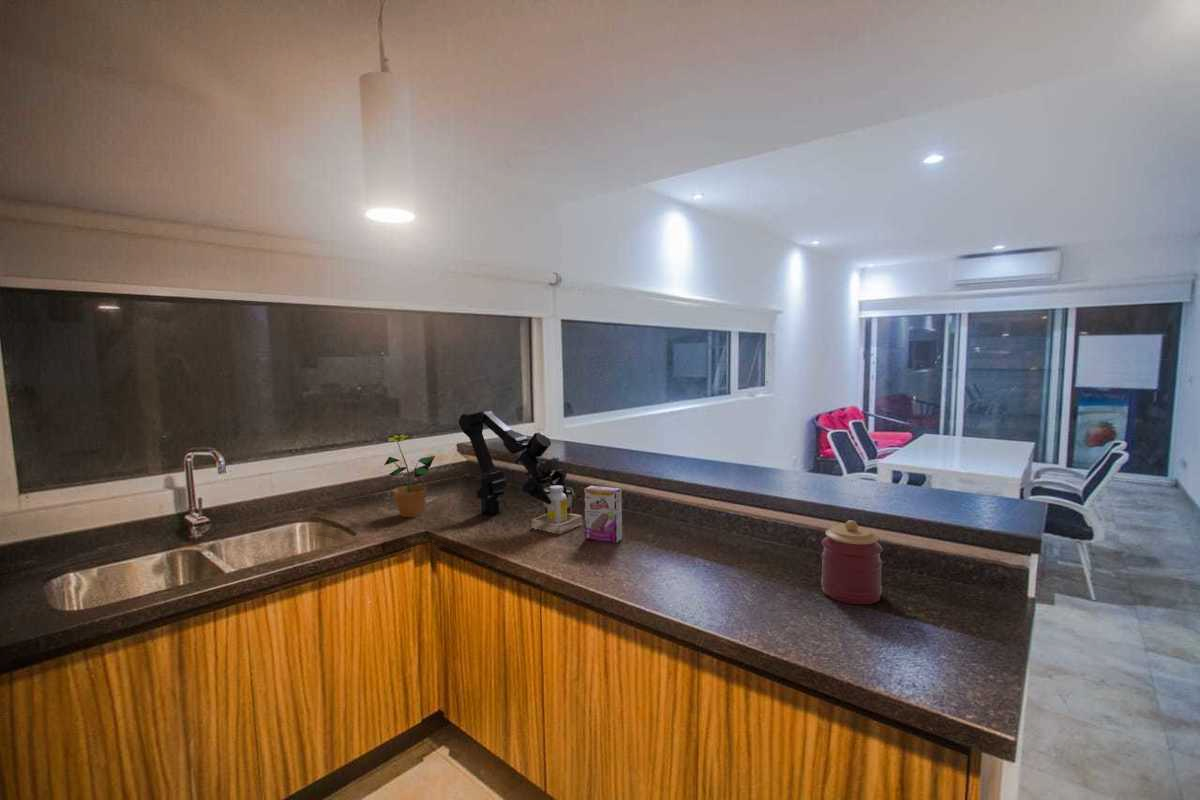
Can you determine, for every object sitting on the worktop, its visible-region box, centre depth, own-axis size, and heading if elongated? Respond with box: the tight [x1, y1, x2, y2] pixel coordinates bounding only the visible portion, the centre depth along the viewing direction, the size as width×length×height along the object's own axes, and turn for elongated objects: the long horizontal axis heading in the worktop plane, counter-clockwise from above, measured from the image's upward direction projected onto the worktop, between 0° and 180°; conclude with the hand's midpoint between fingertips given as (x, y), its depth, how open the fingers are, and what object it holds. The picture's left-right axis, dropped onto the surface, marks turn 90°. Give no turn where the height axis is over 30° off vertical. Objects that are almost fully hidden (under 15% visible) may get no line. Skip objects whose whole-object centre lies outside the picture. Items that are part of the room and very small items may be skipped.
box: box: [530, 513, 584, 535], centre depth 183 cm, size 12×12×3 cm
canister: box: [820, 519, 883, 605], centre depth 126 cm, size 13×13×18 cm
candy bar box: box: [583, 485, 623, 544], centre depth 168 cm, size 11×5×16 cm, turn 65°
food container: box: [542, 486, 575, 515], centre depth 196 cm, size 12×6×10 cm, turn 84°
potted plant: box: [384, 433, 436, 519], centre depth 199 cm, size 18×19×30 cm
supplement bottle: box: [547, 485, 567, 524], centre depth 182 cm, size 7×7×13 cm
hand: (559, 500), depth 181 cm, fingers open, 9 cm apart
